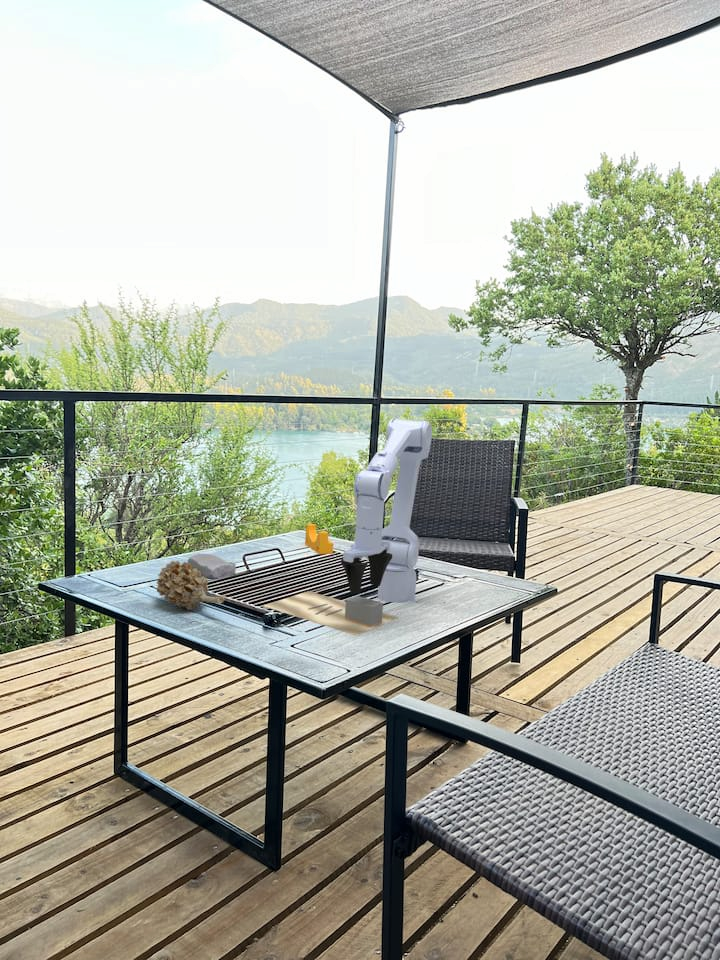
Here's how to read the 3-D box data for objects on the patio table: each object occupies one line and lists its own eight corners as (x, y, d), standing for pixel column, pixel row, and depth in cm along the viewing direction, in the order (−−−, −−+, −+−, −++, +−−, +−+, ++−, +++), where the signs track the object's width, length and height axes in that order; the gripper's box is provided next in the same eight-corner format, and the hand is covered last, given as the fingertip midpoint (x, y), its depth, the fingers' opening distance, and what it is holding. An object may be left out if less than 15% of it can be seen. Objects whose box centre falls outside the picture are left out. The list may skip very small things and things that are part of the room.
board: (308, 597, 189) (308, 590, 189) (398, 623, 174) (398, 616, 174) (262, 612, 176) (262, 605, 176) (355, 642, 161) (356, 635, 161)
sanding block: (355, 615, 173) (356, 595, 173) (381, 623, 169) (383, 603, 169) (344, 619, 170) (345, 599, 169) (371, 627, 166) (372, 607, 165)
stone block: (213, 571, 213) (182, 569, 206) (217, 553, 213) (186, 551, 206) (239, 583, 205) (208, 581, 198) (243, 565, 205) (212, 563, 197)
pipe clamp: (332, 553, 232) (334, 532, 231) (319, 554, 230) (320, 533, 229) (318, 544, 243) (319, 523, 242) (305, 544, 241) (306, 524, 240)
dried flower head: (143, 603, 177) (143, 561, 175) (175, 594, 185) (176, 553, 183) (213, 627, 165) (215, 581, 163) (245, 616, 173) (246, 572, 171)
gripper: (373, 519, 174) (369, 578, 177) (333, 528, 163) (329, 591, 165) (399, 524, 170) (395, 585, 173) (360, 534, 159) (356, 599, 161)
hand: (365, 588), depth 168 cm, fingers open, 7 cm apart
